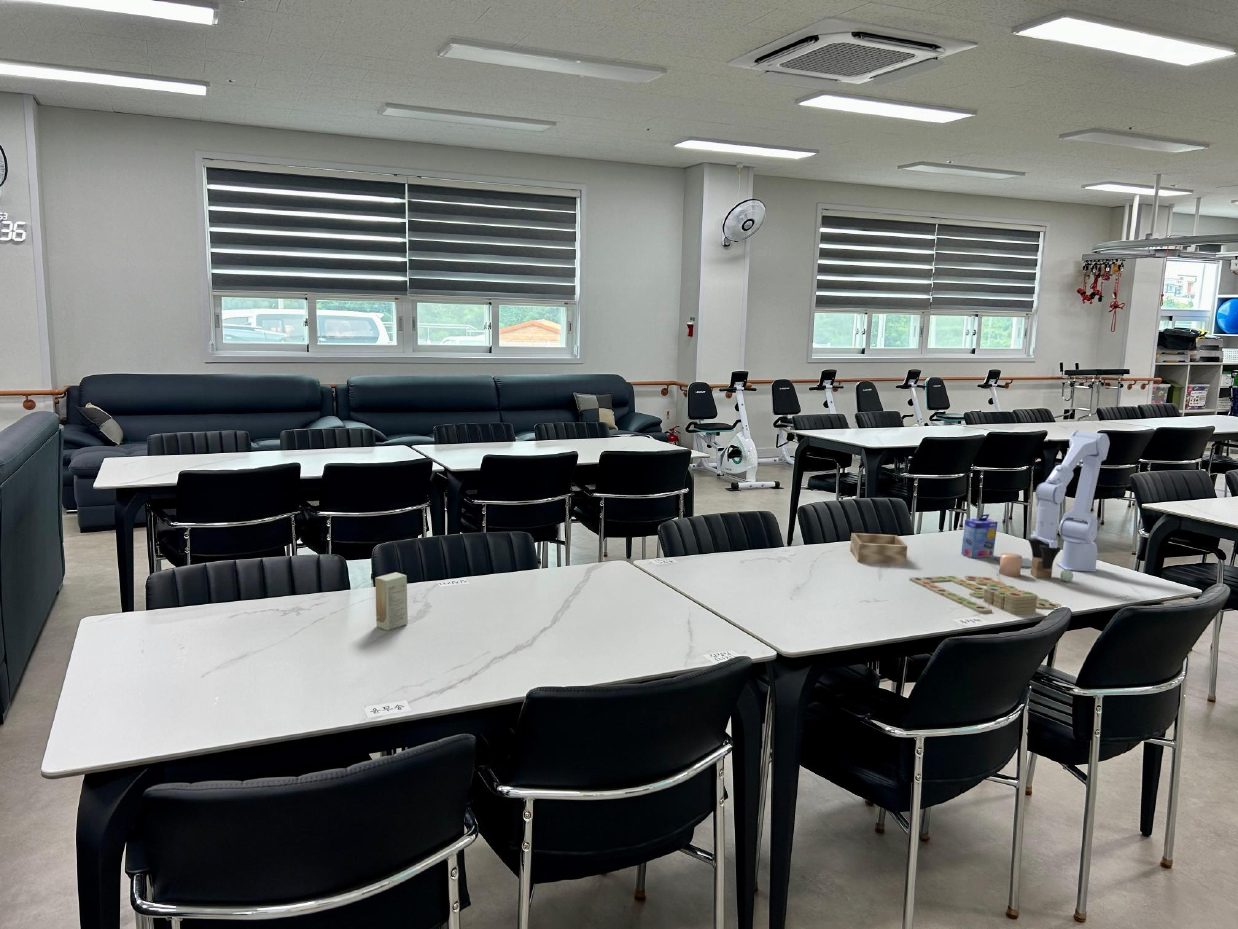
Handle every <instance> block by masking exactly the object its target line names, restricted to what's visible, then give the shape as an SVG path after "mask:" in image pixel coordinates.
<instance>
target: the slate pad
mask: <svg viewBox="0 0 1238 929" xmlns="http://www.w3.org/2000/svg"><path fill="white" fill-rule="evenodd" d="M1000 558H1001V556H997V555H995V556H994V555H993V559H994V560H995V561H996V562H998V563H999V564H1000ZM1031 565H1032V559H1031V558H1029V557H1028V558H1027V557H1022V562H1021V569H1031Z"/></svg>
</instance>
